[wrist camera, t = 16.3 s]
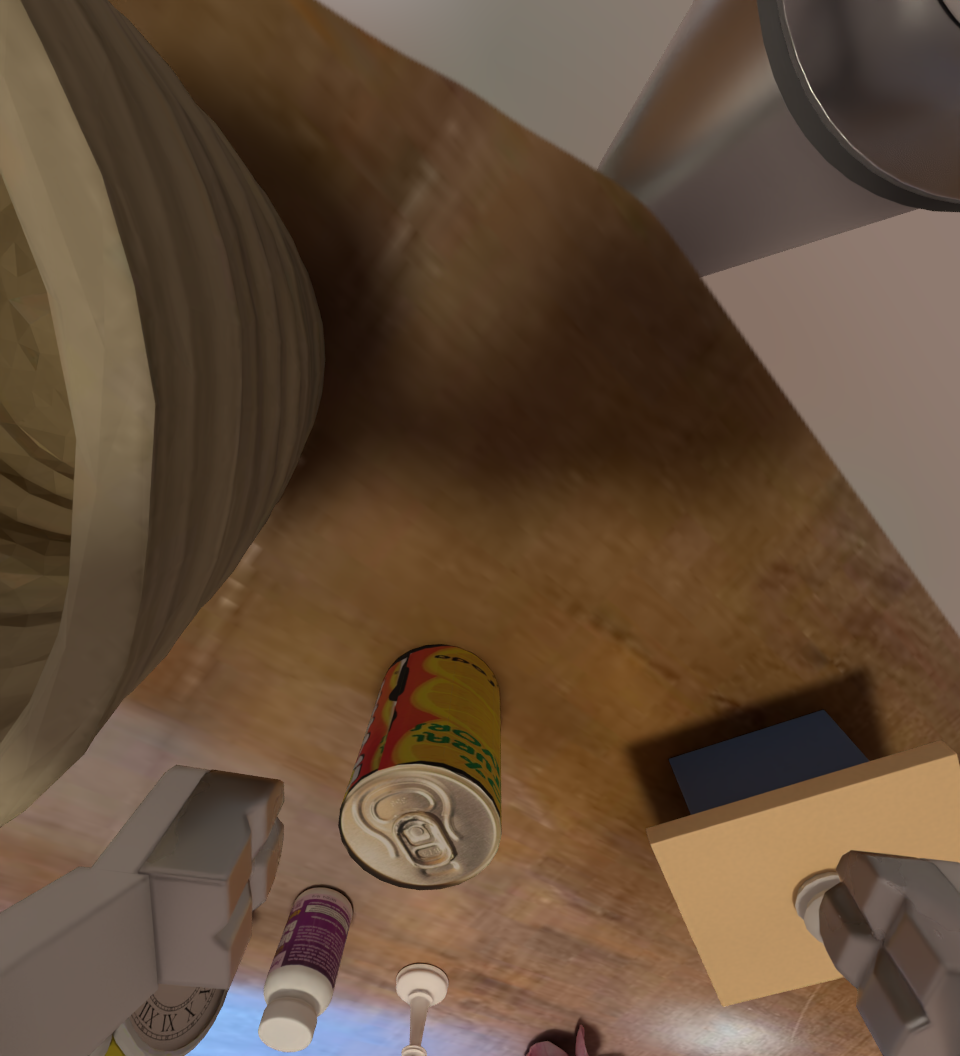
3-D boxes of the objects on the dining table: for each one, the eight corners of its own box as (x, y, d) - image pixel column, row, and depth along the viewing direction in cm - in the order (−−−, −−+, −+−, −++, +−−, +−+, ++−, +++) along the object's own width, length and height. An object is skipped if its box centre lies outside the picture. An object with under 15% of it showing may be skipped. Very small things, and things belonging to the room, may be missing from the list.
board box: (856, 663, 40) (957, 753, 31) (897, 822, 44) (996, 940, 36) (618, 741, 42) (650, 844, 34) (680, 883, 47) (722, 1007, 38)
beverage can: (465, 625, 40) (452, 739, 28) (520, 719, 42) (529, 858, 31) (359, 673, 41) (306, 800, 30) (418, 761, 44) (390, 909, 32)
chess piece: (443, 1002, 53) (431, 1147, 43) (392, 993, 53) (369, 1137, 43) (453, 968, 51) (443, 1110, 42) (400, 959, 51) (379, 1100, 41)
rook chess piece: (863, 915, 35) (965, 1073, 28) (792, 923, 36) (871, 1080, 28) (865, 863, 34) (971, 1014, 26) (790, 872, 34) (873, 1023, 27)
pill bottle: (294, 880, 48) (247, 1007, 39) (355, 888, 48) (322, 1015, 39) (293, 924, 50) (248, 1055, 41) (352, 931, 50) (320, 1063, 41)
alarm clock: (264, 913, 50) (171, 1143, 35) (201, 934, 51) (86, 1165, 36) (191, 821, 46) (56, 1033, 32) (126, 845, 47) (-33, 1061, 33)
